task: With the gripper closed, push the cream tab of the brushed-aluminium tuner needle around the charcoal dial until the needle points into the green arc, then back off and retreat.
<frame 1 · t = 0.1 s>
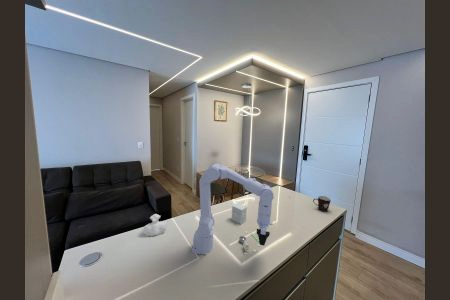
hand: (262, 239, 78), 10 cm above the kitchen island, tool pointing down, fingers open, 7 cm apart
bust: (155, 232, 95), on the kitchen island
small box: (238, 221, 110), on the kitchen island
dial: (242, 242, 90), on the kitchen island
coffee mug: (320, 209, 132), on the kitchen island
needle: (244, 242, 86), point 3 cm above the kitchen island, hinge at -70.0°
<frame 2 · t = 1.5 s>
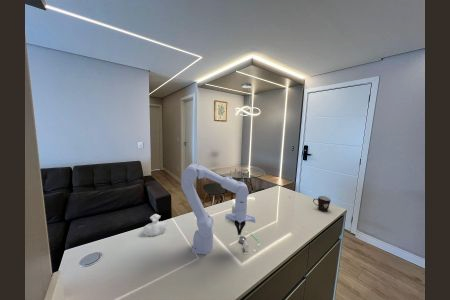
hand: (239, 233, 82), 9 cm above the kitchen island, tool pointing down, fingers closed
nothing on the kitchen island moved.
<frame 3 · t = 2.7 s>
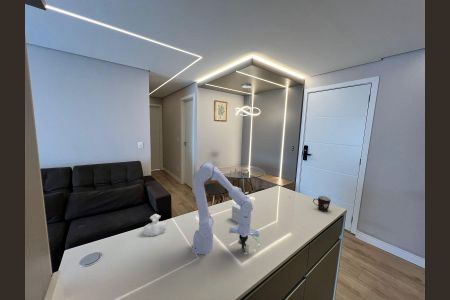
hand: (242, 247, 83), 2 cm above the kitchen island, tool pointing down, fingers closed, pressing on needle
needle: (244, 242, 86), point 3 cm above the kitchen island, hinge at -68.5°, touching gripper
everything else where it was.
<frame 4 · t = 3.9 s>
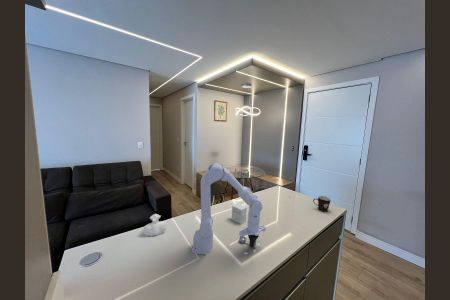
hand: (251, 246, 84), 2 cm above the kitchen island, tool pointing down, fingers closed
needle: (247, 240, 88), point 3 cm above the kitchen island, hinge at -21.0°, touching gripper
everything else where it was.
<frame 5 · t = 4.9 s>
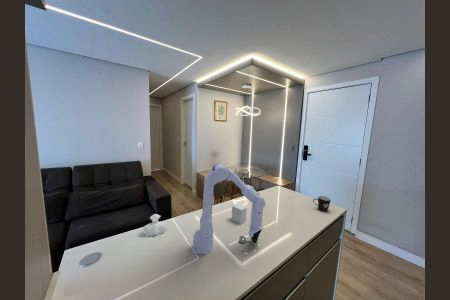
hand: (254, 241, 88), 2 cm above the kitchen island, tool pointing down, fingers closed, pressing on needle
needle: (248, 238, 89), point 3 cm above the kitchen island, hinge at 14.5°, touching gripper
everything else where it was.
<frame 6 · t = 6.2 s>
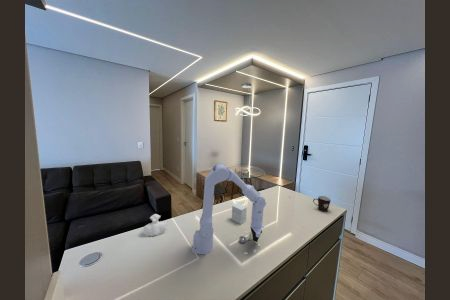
hand: (255, 240, 88), 2 cm above the kitchen island, tool pointing down, fingers closed
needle: (247, 236, 91), point 3 cm above the kitchen island, hinge at 36.0°
everything else where it was.
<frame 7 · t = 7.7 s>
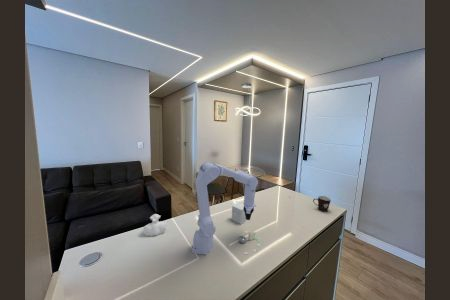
hand: (247, 219, 94), 10 cm above the kitchen island, tool pointing down, fingers closed
nothing on the kitchen island moved.
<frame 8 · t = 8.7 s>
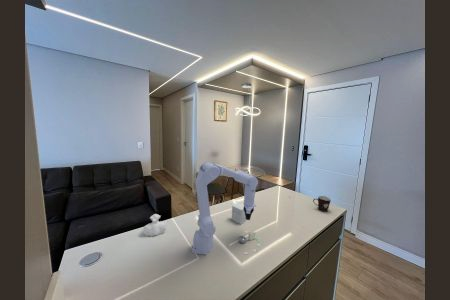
hand: (247, 219, 94), 10 cm above the kitchen island, tool pointing down, fingers closed
nothing on the kitchen island moved.
at the end: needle at +36° (first picture: -70°) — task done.
